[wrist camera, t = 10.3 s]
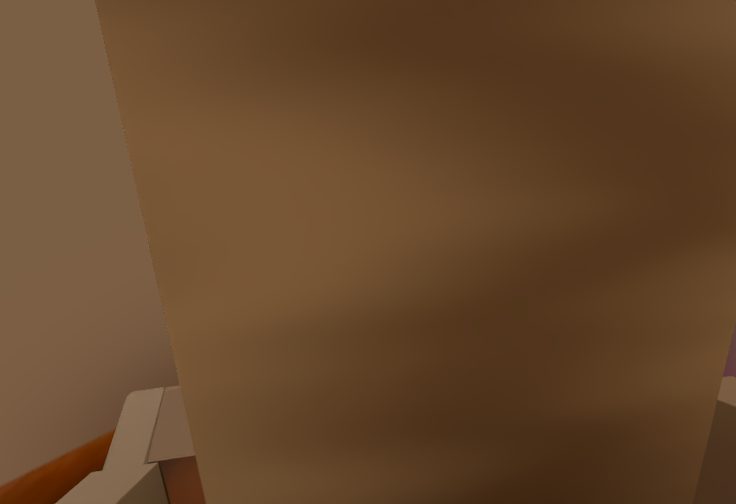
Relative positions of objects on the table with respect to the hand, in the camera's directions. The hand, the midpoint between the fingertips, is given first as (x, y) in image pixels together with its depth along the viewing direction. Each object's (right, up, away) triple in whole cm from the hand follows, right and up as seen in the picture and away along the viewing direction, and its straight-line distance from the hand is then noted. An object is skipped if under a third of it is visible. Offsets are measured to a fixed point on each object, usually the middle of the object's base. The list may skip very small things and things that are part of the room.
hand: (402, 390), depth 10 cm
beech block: (+1, -8, +3) cm, 8 cm away
